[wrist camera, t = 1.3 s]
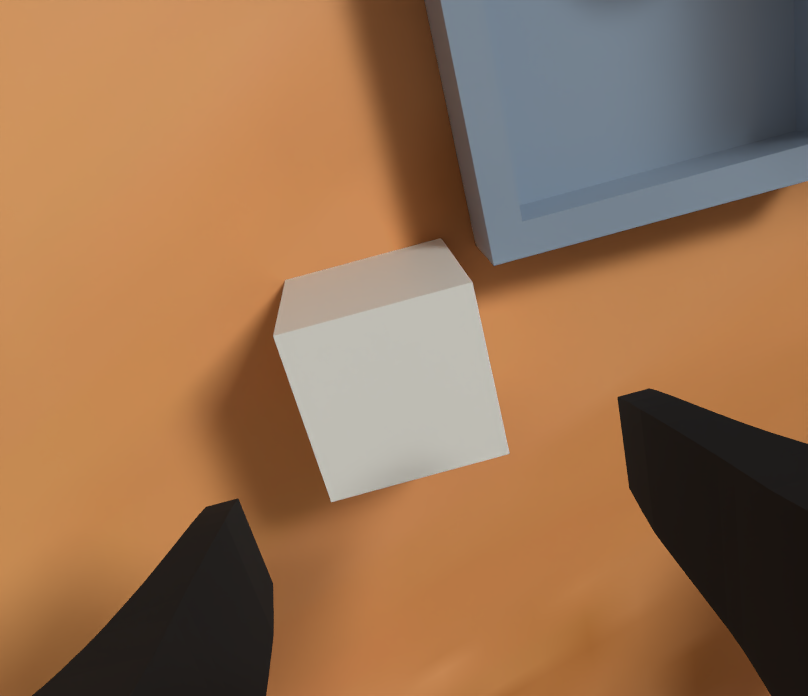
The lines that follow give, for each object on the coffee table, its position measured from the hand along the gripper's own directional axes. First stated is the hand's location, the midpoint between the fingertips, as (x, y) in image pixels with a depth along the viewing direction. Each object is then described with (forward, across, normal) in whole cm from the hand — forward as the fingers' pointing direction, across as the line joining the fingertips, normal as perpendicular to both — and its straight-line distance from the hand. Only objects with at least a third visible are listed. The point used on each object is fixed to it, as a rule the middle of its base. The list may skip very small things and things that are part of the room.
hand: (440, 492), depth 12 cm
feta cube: (+10, 0, 0) cm, 10 cm away
